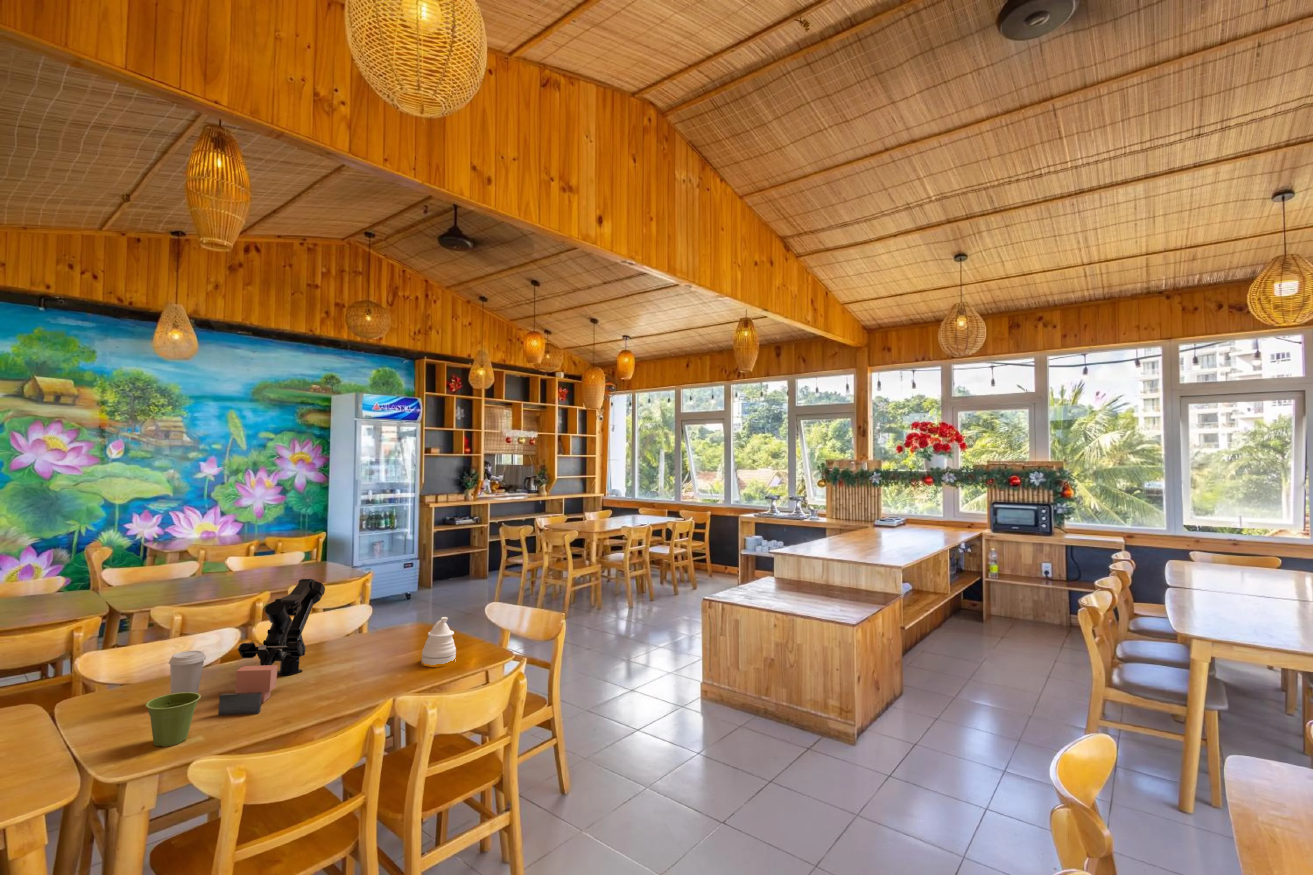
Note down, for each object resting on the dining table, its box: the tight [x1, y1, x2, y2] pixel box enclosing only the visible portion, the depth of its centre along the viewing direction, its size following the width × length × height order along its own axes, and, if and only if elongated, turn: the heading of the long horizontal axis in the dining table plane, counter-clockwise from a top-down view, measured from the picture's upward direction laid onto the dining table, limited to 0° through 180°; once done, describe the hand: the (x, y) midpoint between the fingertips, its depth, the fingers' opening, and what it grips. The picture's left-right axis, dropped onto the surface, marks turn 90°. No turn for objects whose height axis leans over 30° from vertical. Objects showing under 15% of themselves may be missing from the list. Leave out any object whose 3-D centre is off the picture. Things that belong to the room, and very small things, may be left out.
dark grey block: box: [217, 692, 262, 716], centre depth 190 cm, size 14×11×6 cm
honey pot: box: [421, 616, 457, 665], centre depth 240 cm, size 13×13×18 cm
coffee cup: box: [168, 650, 207, 694], centre depth 192 cm, size 10×10×15 cm
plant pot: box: [145, 692, 201, 748], centre depth 164 cm, size 12×12×11 cm
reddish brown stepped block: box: [234, 664, 278, 704], centre depth 194 cm, size 5×10×10 cm, turn 102°
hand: (262, 673), depth 199 cm, fingers closed
